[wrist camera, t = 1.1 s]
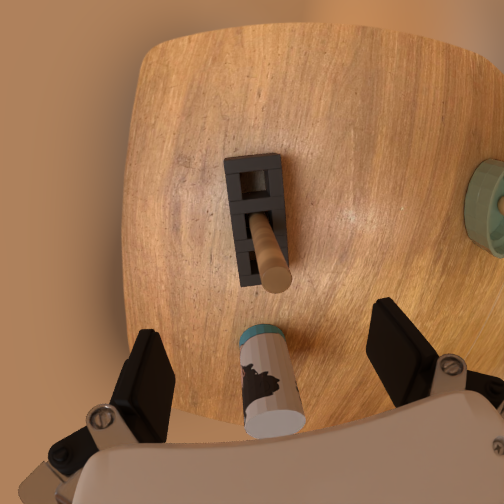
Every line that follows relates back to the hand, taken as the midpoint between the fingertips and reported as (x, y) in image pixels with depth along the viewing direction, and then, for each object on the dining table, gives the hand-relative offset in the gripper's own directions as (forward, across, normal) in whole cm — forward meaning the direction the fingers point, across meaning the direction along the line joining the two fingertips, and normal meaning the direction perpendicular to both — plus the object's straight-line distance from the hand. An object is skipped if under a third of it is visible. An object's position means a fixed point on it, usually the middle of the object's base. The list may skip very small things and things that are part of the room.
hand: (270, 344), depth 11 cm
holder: (+23, -1, +1) cm, 23 cm away
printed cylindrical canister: (+23, 0, +20) cm, 30 cm away
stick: (+23, -1, +1) cm, 23 cm away
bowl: (+23, -41, +1) cm, 47 cm away
